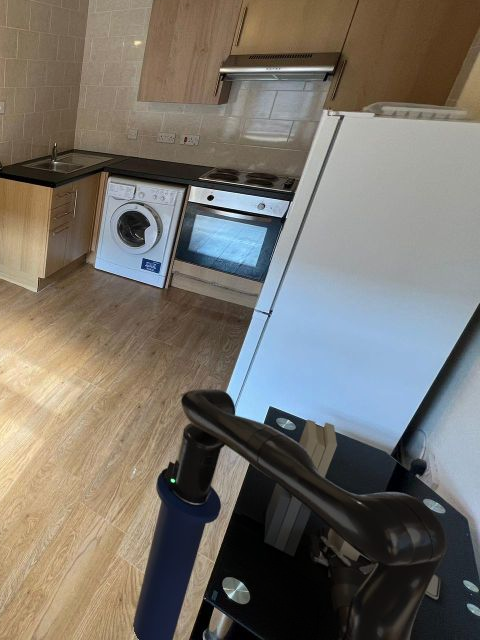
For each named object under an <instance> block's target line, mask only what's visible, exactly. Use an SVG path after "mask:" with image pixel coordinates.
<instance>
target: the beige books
mask: <svg viewBox="0 0 480 640" xmlns="http://www.w3.org/2000/svg"><path fill="white" fill-rule="evenodd" d="M336 436H337V435H336V430H335V425H334V424H332V423H329V422H325V423H324V426H323V427H322V426H319V425H317V423H316V421H315V420H314V421H313V420H311V419H307V420H306V422H305V425H304V429H303V430H302V434H301V436H300V440H299V442H298V443H299V444H300V445H301V446H302V447H303V448H304V449H305V450H306V451H307V453H308V454H309V456H310V457H311V459H312V461H313V463H314V465H315V467H316V470H317V471H318V473H319V474H320V475H321V476H323V477H324V478H326V475H327V473H328V469H329V467H330V464H331V462H332V460H333V457H334V454H335V451H336V449H337V447H338V442H337V437H336Z"/></svg>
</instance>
